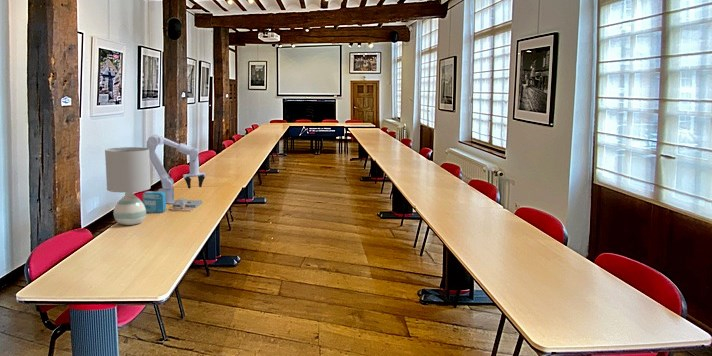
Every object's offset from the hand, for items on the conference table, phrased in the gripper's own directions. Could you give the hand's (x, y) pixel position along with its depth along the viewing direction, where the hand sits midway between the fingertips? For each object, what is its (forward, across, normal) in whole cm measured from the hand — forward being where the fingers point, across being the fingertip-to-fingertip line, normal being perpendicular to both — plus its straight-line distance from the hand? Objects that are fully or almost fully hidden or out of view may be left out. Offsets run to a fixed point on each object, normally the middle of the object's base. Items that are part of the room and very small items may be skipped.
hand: (194, 187), depth 350 cm
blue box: (+10, -32, -12) cm, 35 cm away
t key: (+9, -16, -16) cm, 25 cm away
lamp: (+10, -53, -30) cm, 62 cm away
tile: (+9, -16, -16) cm, 25 cm away
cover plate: (+9, -8, -7) cm, 15 cm away
